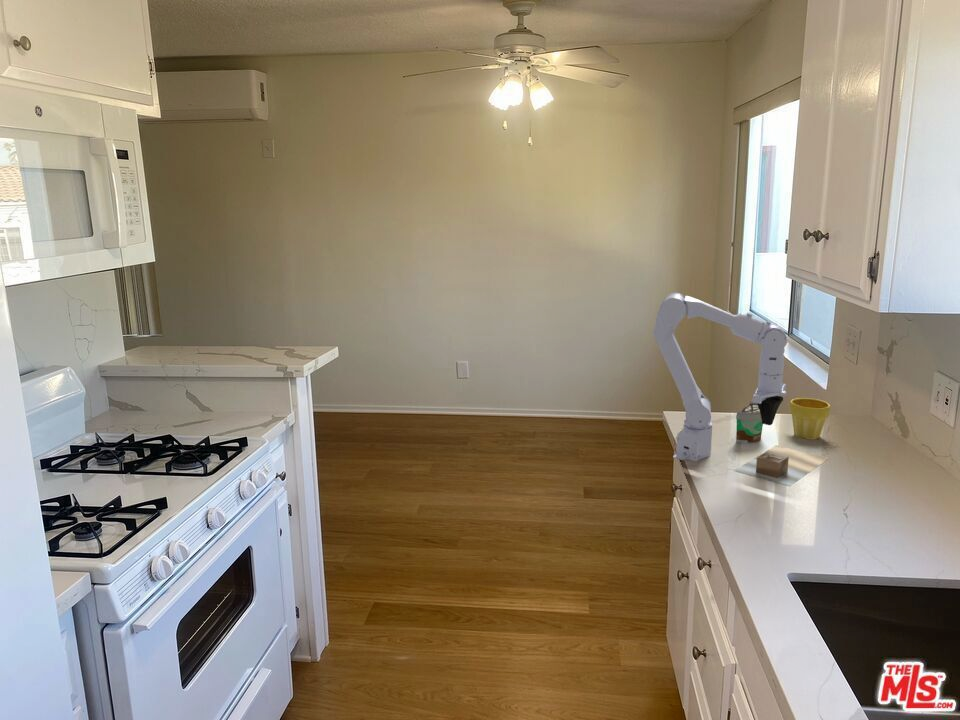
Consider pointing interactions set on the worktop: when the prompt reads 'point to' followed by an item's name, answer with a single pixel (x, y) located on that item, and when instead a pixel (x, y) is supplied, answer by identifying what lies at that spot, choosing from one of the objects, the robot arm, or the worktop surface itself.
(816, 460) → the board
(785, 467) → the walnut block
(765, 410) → the robot arm
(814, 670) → the worktop surface
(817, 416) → the plant pot
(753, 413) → the food container
